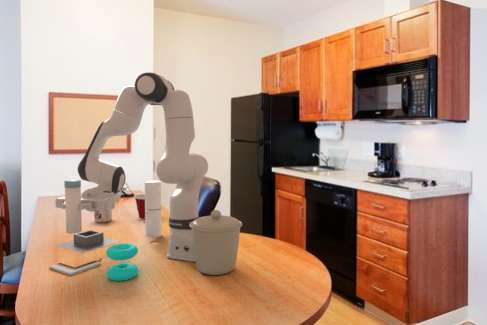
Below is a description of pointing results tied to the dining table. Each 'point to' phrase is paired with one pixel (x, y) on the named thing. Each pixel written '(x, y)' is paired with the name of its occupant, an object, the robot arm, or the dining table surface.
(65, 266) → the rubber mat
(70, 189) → the cylinder
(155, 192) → the cylindrical container
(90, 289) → the dining table surface
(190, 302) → the dining table surface
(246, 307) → the dining table surface
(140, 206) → the plastic cup
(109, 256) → the donuts
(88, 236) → the grey square peg base
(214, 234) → the canister
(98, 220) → the teacup with lid
